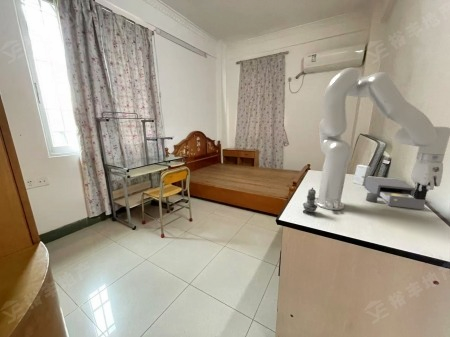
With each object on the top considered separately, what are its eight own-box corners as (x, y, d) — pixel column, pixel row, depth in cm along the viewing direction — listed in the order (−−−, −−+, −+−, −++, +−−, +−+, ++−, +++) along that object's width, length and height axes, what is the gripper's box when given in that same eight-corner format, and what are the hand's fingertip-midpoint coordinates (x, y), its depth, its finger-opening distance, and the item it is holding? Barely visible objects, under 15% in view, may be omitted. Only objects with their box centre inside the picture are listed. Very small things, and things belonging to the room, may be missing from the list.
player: (411, 201, 95) (415, 188, 93) (375, 197, 100) (378, 185, 98) (394, 190, 110) (397, 179, 108) (364, 187, 114) (366, 176, 113)
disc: (404, 197, 94) (405, 194, 94) (413, 203, 88) (414, 200, 87) (387, 195, 96) (388, 192, 96) (395, 201, 90) (395, 198, 90)
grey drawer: (423, 209, 85) (426, 199, 84) (388, 205, 89) (391, 196, 88) (403, 196, 100) (405, 187, 99) (374, 193, 104) (376, 185, 103)
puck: (378, 203, 93) (379, 196, 92) (367, 201, 94) (369, 195, 93) (374, 199, 97) (375, 193, 96) (364, 198, 98) (365, 192, 97)
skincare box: (352, 182, 123) (356, 165, 119) (356, 181, 125) (359, 164, 122) (362, 185, 117) (366, 167, 114) (366, 184, 119) (370, 166, 116)
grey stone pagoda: (304, 208, 87) (307, 184, 84) (317, 212, 83) (321, 187, 80) (300, 213, 82) (303, 187, 79) (314, 217, 79) (318, 191, 76)
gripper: (457, 161, 68) (443, 207, 73) (428, 154, 82) (418, 193, 86) (431, 160, 70) (419, 205, 75) (407, 154, 84) (398, 191, 89)
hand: (419, 198), depth 81 cm, fingers closed
